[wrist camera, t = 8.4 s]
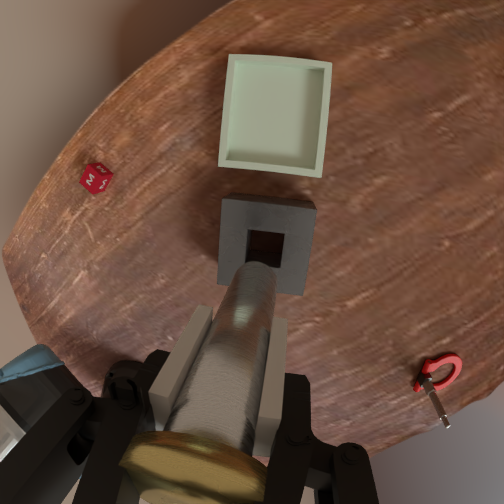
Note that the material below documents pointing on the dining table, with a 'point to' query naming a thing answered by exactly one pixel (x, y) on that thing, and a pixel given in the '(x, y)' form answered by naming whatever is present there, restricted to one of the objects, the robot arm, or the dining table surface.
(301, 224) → the hitch block
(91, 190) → the dice
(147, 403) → the robot arm
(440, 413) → the tow hook
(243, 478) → the pin
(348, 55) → the dining table surface
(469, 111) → the dining table surface
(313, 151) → the tray
